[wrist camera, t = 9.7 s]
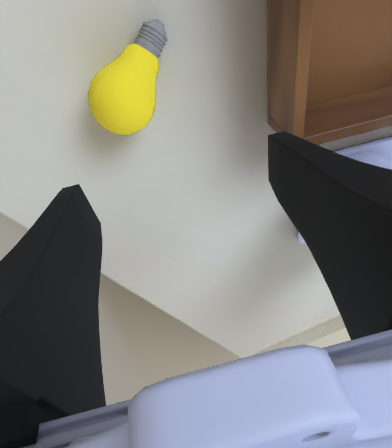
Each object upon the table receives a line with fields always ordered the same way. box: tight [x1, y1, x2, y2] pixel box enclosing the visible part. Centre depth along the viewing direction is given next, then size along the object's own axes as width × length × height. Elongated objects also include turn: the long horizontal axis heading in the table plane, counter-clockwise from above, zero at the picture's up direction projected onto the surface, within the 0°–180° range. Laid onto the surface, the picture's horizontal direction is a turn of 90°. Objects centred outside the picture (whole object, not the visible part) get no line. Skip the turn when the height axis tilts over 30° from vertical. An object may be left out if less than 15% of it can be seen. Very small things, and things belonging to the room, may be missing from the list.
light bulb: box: [88, 19, 167, 135], centre depth 16 cm, size 3×6×4 cm, turn 144°
